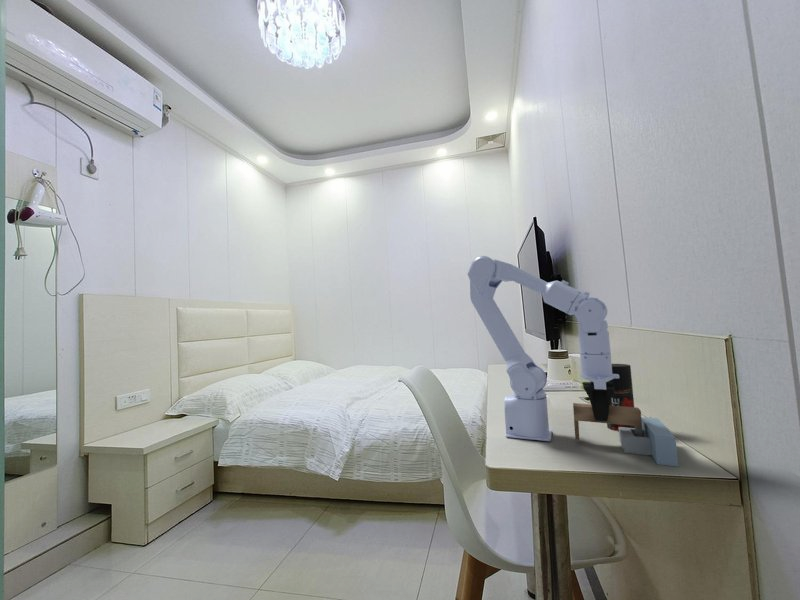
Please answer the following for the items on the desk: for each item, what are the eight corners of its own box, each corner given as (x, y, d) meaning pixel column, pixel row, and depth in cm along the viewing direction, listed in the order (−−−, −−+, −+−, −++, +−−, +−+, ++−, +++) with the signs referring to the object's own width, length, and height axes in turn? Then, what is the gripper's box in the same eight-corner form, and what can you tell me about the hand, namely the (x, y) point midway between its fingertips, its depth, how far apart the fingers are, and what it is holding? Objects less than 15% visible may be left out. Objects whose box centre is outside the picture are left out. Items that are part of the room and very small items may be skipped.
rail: (575, 439, 72) (573, 406, 73) (575, 435, 75) (573, 403, 76) (643, 447, 67) (640, 411, 68) (640, 442, 70) (638, 407, 70)
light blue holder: (628, 460, 63) (625, 433, 63) (618, 439, 74) (616, 415, 75) (678, 466, 60) (675, 437, 60) (660, 442, 71) (658, 418, 72)
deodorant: (608, 430, 81) (602, 366, 82) (606, 423, 86) (601, 363, 87) (638, 433, 78) (632, 366, 79) (634, 425, 83) (628, 363, 84)
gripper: (621, 356, 65) (628, 429, 64) (612, 350, 78) (618, 411, 77) (580, 356, 68) (585, 426, 67) (578, 350, 81) (582, 409, 80)
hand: (600, 418), depth 72 cm, fingers closed on rail, 3 cm apart
